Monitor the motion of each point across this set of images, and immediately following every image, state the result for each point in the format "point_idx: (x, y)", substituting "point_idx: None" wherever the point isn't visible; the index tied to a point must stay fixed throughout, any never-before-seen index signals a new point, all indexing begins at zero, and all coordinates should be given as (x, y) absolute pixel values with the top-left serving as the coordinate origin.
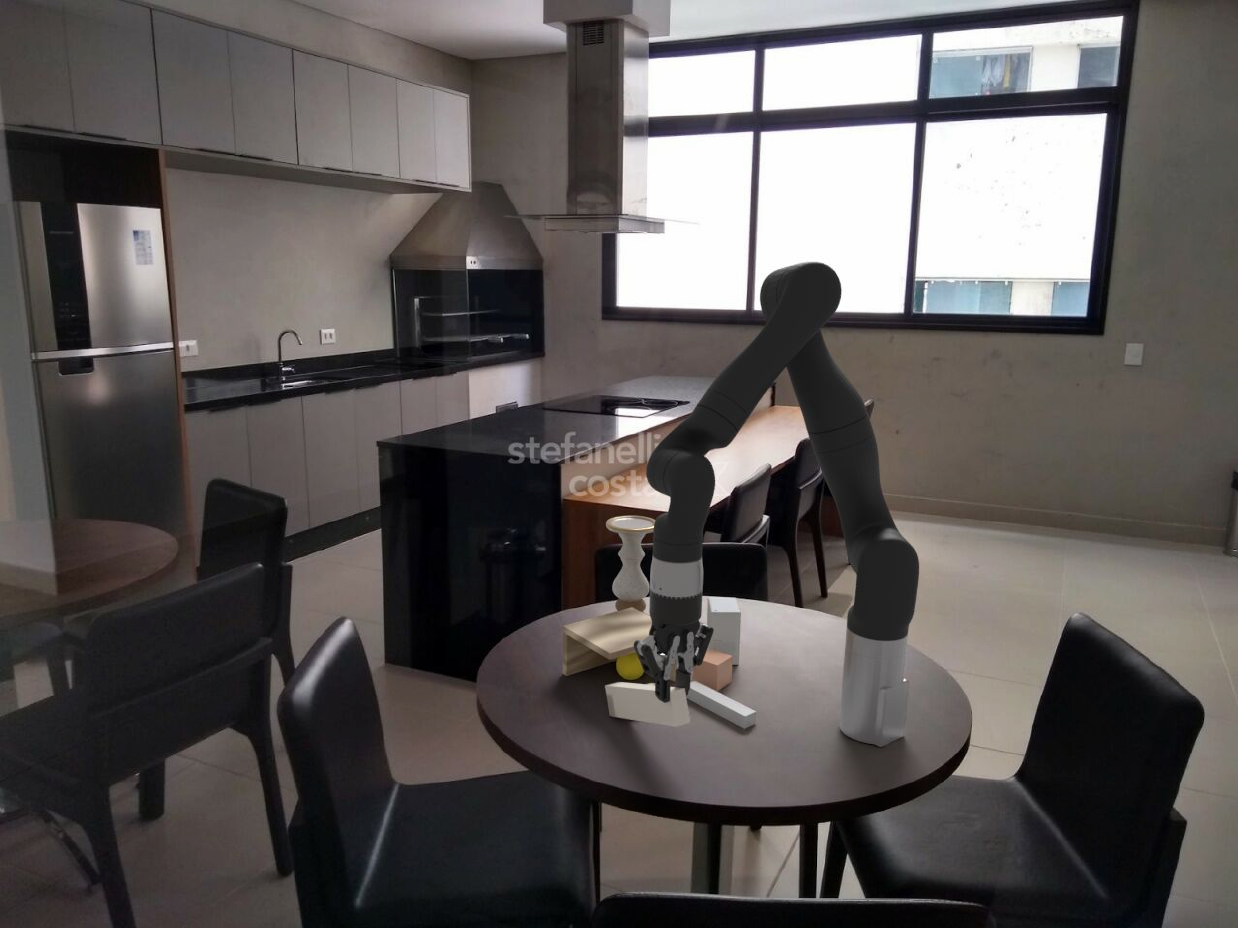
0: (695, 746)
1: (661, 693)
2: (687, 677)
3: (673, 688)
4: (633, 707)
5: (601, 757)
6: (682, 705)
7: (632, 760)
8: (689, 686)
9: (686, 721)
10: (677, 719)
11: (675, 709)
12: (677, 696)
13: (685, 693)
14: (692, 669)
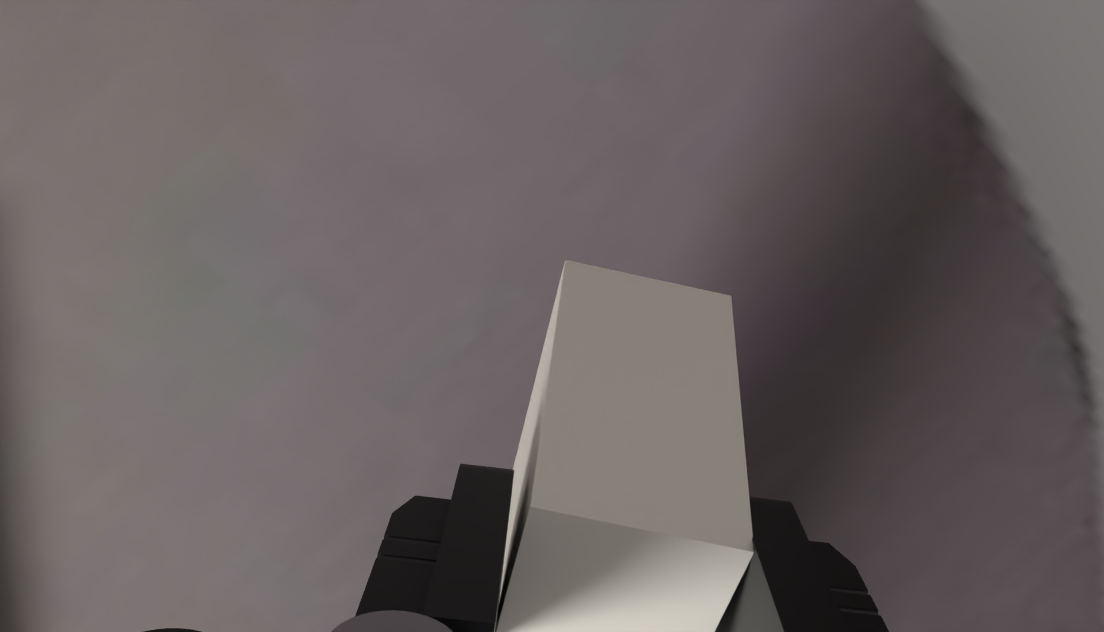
0: (350, 320)
1: (859, 591)
2: (457, 582)
3: (551, 622)
4: None
5: (886, 603)
6: (614, 385)
7: (779, 466)
8: (401, 521)
9: (606, 280)
10: (703, 325)
11: (711, 391)
12: (654, 475)
13: (538, 456)
14: (350, 628)
